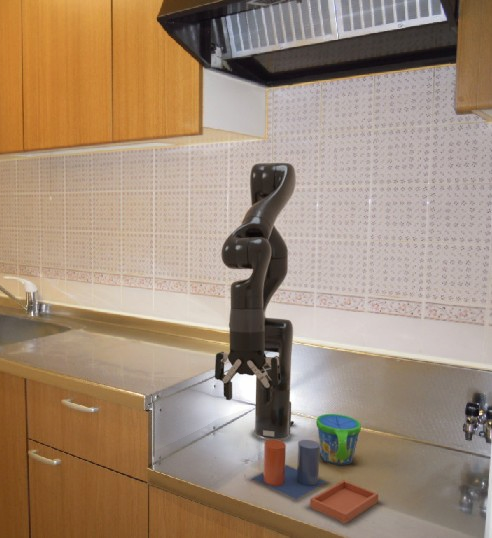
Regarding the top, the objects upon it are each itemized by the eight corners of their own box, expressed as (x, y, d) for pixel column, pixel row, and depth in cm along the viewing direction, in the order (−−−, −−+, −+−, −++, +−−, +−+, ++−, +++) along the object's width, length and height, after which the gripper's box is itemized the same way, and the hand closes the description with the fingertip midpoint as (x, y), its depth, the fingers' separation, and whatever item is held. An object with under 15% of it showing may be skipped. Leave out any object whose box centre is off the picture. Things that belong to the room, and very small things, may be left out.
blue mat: (282, 465, 141) (282, 464, 141) (326, 483, 132) (326, 481, 132) (251, 479, 134) (252, 478, 134) (295, 500, 125) (295, 498, 125)
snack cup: (361, 476, 135) (363, 435, 134) (314, 470, 139) (316, 430, 138) (357, 450, 150) (358, 412, 149) (315, 445, 153) (316, 408, 152)
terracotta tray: (342, 488, 130) (343, 479, 130) (377, 502, 124) (378, 493, 123) (309, 508, 121) (310, 498, 121) (345, 524, 115) (346, 514, 115)
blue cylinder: (304, 474, 136) (305, 438, 135) (322, 481, 132) (323, 444, 131) (292, 480, 133) (293, 443, 132) (310, 488, 129) (312, 450, 128)
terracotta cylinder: (271, 474, 136) (272, 437, 135) (288, 481, 132) (290, 444, 131) (259, 480, 133) (260, 443, 132) (276, 488, 129) (277, 450, 128)
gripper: (283, 327, 125) (284, 401, 125) (222, 324, 132) (223, 394, 132) (274, 332, 118) (274, 410, 119) (210, 328, 125) (210, 401, 126)
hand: (247, 401), depth 126 cm, fingers open, 8 cm apart
